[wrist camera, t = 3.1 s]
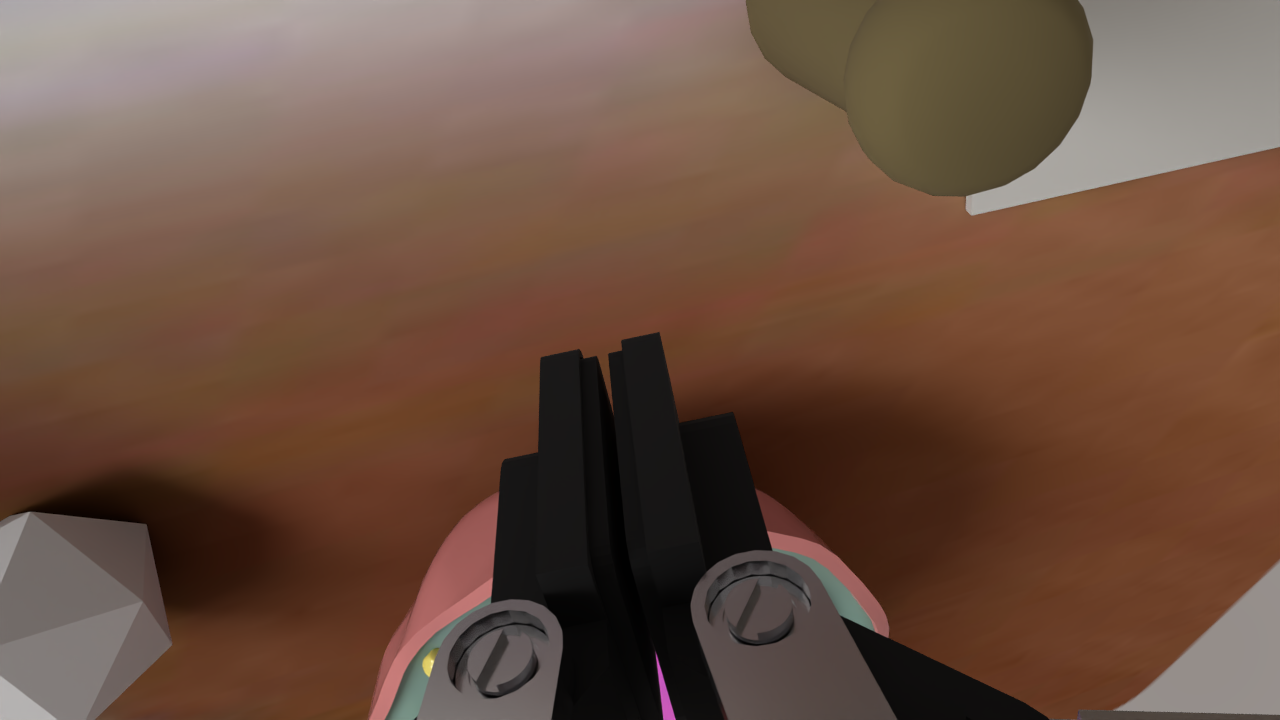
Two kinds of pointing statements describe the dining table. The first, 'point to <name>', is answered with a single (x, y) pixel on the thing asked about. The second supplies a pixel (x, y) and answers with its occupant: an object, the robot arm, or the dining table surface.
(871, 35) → the cork
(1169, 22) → the mat
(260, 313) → the dining table surface
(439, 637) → the cell model
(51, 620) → the die
